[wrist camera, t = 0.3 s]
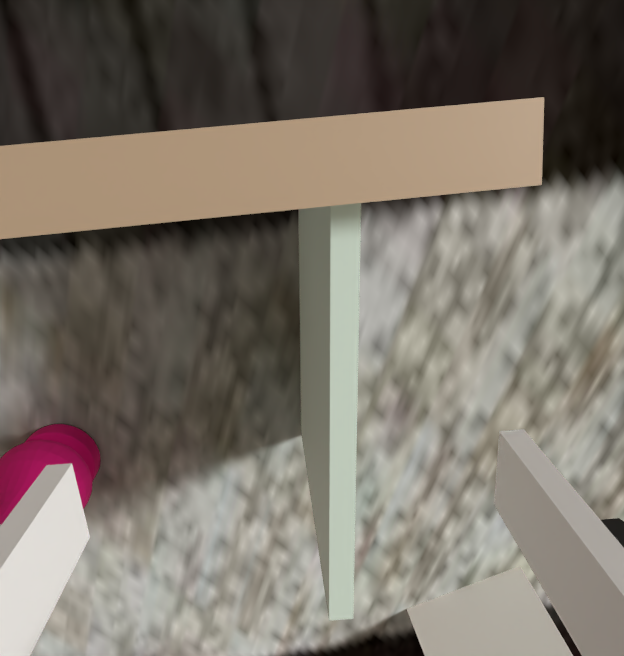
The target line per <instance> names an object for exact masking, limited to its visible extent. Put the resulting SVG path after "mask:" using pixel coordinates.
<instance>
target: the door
mask: <svg viewBox="0 0 624 656" xmlns="http://www.w3.org/2000/svg"><path fill="white" fill-rule="evenodd" d="M298 211H299V291H300V371H301V435H302V442H303V448H304V455H305V462H306V468H307V475H308V482H309V489H310V495H311V502H312V509H313V516H314V522H315V529H316V536H317V542H318V549H319V556H320V563H321V569H322V576H323V583H324V590H325V596H326V603H327V610H328V617H329V621H330V620H343V619H353V604H354V551H355V499H356V446H357V393H358V340H359V287H360V234H361V203H355V204H345V205H335V206H325V207H315V208H305V209H298Z"/></svg>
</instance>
